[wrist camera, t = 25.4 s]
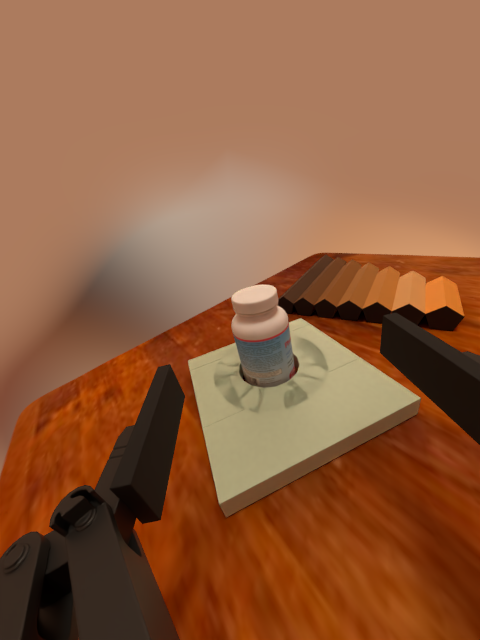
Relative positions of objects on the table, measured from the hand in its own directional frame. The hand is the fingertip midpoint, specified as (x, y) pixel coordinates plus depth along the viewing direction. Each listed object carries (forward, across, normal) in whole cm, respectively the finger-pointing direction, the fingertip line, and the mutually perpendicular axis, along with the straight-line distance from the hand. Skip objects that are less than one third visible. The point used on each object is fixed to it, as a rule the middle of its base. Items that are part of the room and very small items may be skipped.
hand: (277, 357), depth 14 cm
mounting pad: (+8, 0, -10) cm, 13 cm away
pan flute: (+28, +22, -11) cm, 37 cm away
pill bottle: (+10, 0, -11) cm, 15 cm away
